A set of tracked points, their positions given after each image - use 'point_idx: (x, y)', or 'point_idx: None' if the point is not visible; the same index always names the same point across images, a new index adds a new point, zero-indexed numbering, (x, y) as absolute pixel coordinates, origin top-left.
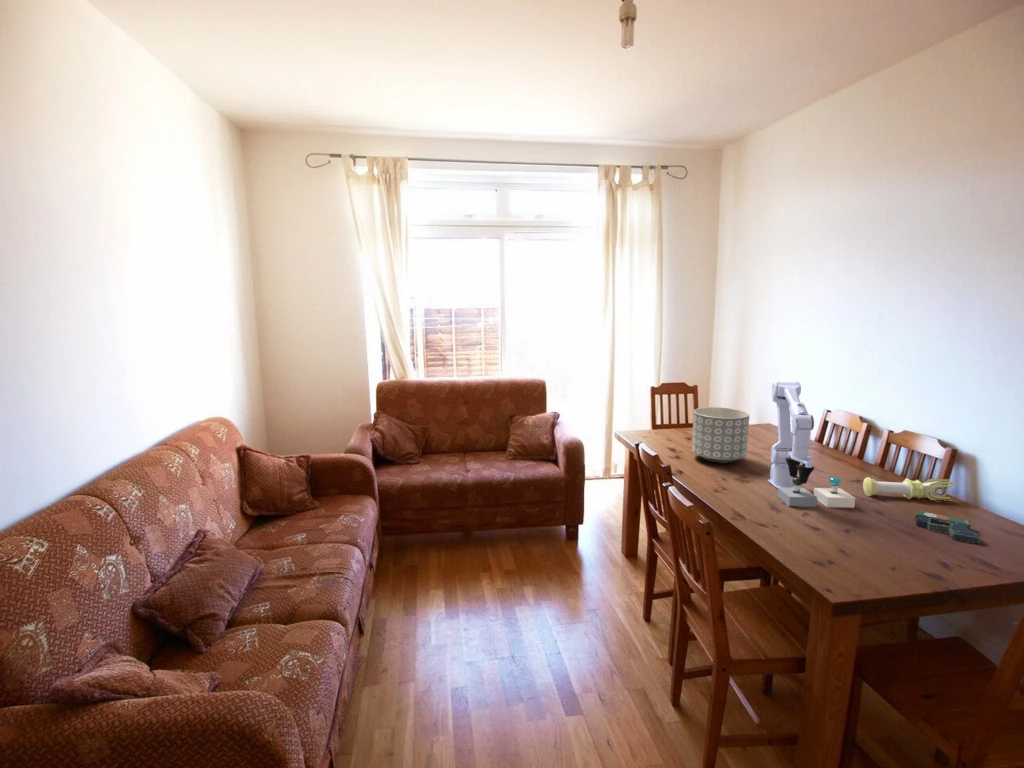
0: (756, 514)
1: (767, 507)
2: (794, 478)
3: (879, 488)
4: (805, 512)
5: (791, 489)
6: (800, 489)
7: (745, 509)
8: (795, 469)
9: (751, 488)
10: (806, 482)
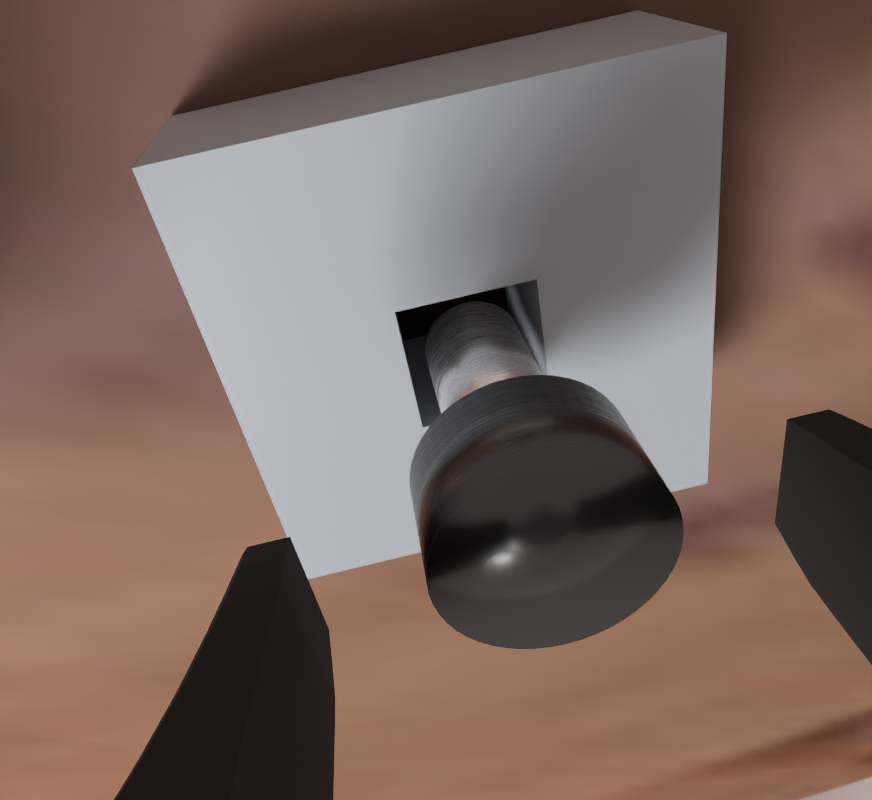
0: (832, 653)
1: (674, 581)
2: (594, 627)
3: None
4: (833, 240)
5: (343, 416)
6: (290, 264)
7: (723, 710)
8: (283, 764)
9: (92, 683)
10: (853, 420)
